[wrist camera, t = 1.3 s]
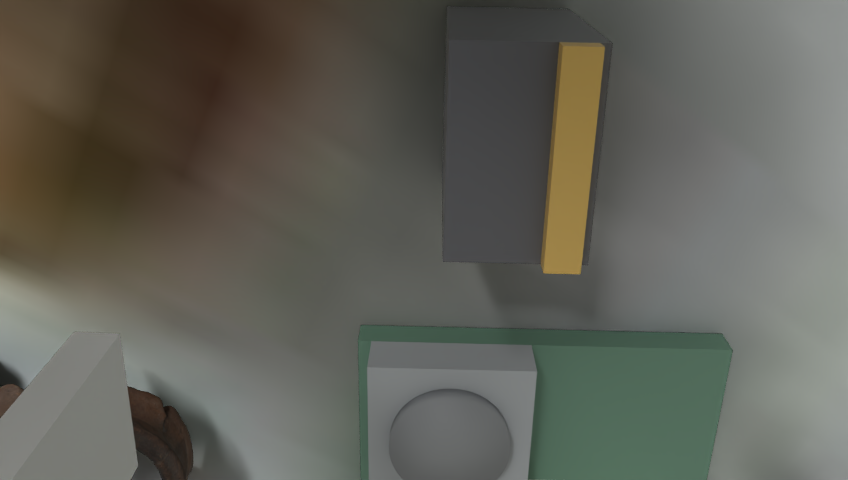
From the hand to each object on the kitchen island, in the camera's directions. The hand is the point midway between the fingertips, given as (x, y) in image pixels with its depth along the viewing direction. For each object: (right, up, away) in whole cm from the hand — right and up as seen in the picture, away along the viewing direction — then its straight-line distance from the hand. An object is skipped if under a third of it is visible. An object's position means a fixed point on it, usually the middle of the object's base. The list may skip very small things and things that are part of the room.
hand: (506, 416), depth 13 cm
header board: (+3, -9, +20) cm, 22 cm away
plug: (+1, +8, +13) cm, 16 cm away
